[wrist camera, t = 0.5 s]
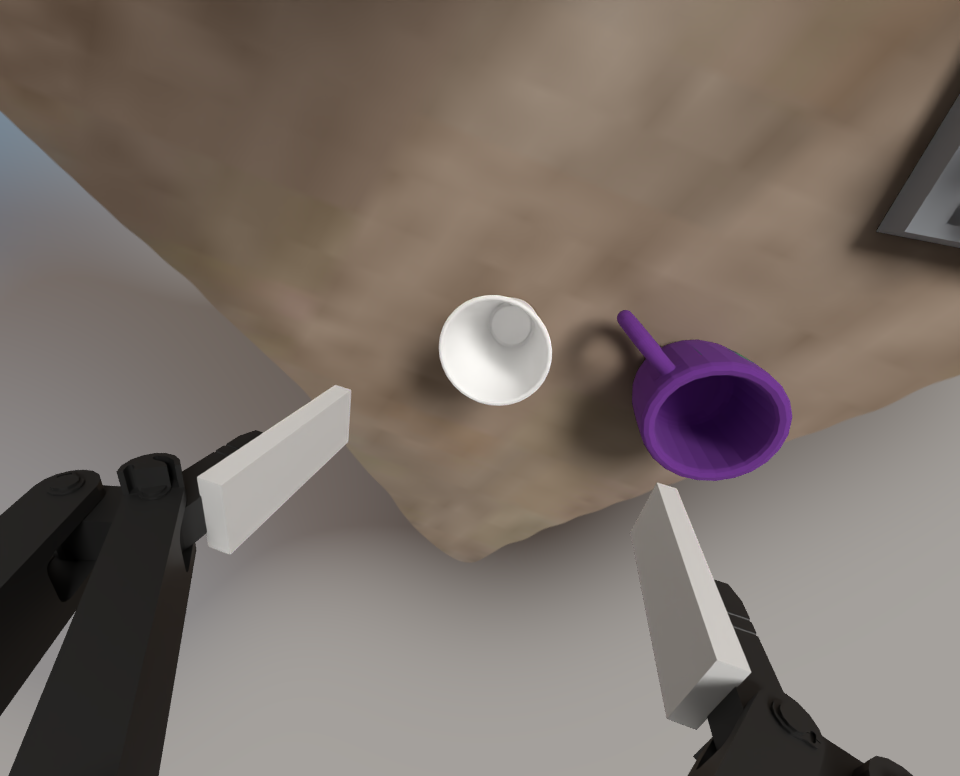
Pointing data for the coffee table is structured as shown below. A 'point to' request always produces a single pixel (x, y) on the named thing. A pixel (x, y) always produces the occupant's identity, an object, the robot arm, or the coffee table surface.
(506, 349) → the cup
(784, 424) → the mug
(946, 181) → the tray
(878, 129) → the coffee table surface
